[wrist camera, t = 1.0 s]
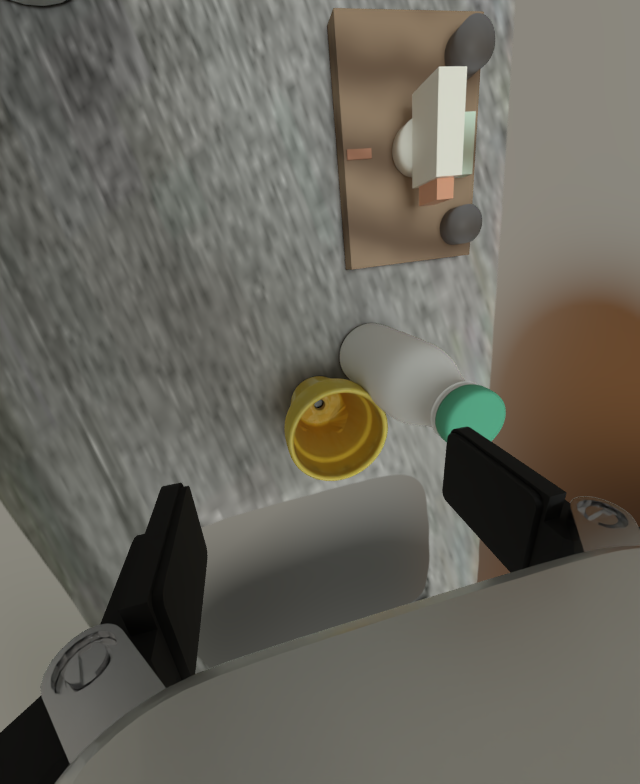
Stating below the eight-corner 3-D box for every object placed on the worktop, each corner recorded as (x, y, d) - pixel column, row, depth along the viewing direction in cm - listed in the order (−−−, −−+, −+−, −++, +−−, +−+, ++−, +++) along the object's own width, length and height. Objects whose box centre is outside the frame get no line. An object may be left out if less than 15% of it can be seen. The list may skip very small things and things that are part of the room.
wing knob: (391, 105, 29) (426, 66, 23) (434, 104, 30) (478, 66, 24) (393, 212, 32) (425, 199, 27) (432, 208, 33) (471, 195, 27)
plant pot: (366, 416, 42) (400, 454, 33) (296, 450, 42) (312, 498, 33) (340, 347, 38) (371, 369, 29) (262, 383, 37) (269, 418, 29)
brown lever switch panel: (327, 25, 28) (340, -12, 24) (468, 27, 30) (500, -7, 26) (345, 269, 35) (358, 269, 31) (457, 255, 38) (481, 253, 34)
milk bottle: (334, 382, 40) (415, 476, 21) (341, 320, 37) (440, 366, 19) (391, 383, 41) (509, 469, 23) (401, 323, 39) (543, 368, 21)
